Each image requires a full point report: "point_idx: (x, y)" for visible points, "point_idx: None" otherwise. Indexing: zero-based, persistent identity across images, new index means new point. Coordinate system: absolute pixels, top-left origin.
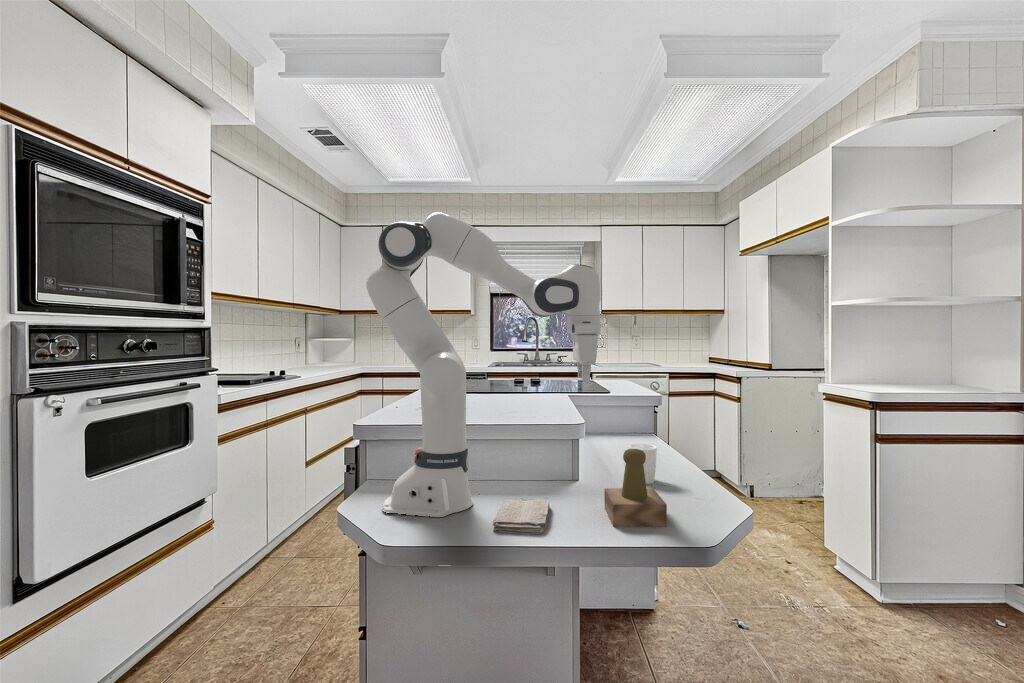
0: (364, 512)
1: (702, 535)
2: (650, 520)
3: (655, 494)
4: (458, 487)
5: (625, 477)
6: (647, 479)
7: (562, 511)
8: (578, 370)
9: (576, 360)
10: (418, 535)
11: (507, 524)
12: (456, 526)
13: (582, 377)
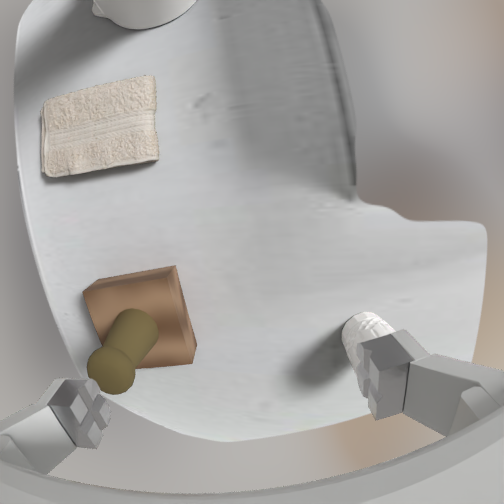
0: None
1: None
2: None
3: (156, 363)
4: (110, 3)
5: (112, 331)
6: (343, 344)
7: (143, 188)
8: (418, 368)
9: (261, 498)
10: (39, 26)
11: (44, 122)
12: (64, 49)
13: (60, 390)
